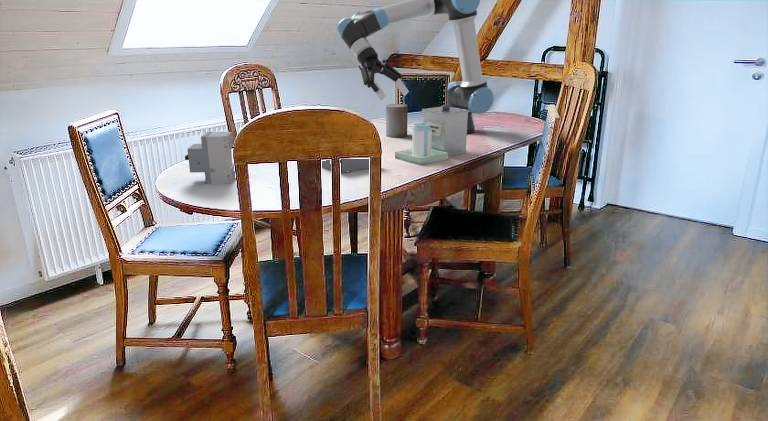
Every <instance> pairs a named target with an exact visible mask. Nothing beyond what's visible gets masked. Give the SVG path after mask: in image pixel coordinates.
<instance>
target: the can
mask: <svg viewBox="0 0 768 421" xmlns="http://www.w3.org/2000/svg"><path fill="white" fill-rule="evenodd" d="M413 126H414V127H413V128H412V132H411V134H412V136H411V137H412V139H411V141H412V144H411V149H412V155H413V156H417V157H425V156H431V137H432V129H431V127H430V124H424V123H423V122H422V123H419V122H418V123H415V124H413Z"/></svg>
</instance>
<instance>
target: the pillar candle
mask: <svg viewBox="0 0 768 421" xmlns="http://www.w3.org/2000/svg"><path fill="white" fill-rule="evenodd" d="M385 112H386V113H385V131H386V132H385V135H386V137H390V138H394V137H395V138H404V137H407V136H408V104H405V103H391V104H390V103H389V104H386V105H385Z"/></svg>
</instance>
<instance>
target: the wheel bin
mask: <svg viewBox="0 0 768 421" xmlns="http://www.w3.org/2000/svg"><path fill="white" fill-rule="evenodd" d="M340 163H341V173H342V174H344V173H343V172H347V171H352V172H354V171H353V170H357V171H360V170H359V169H362V170H366V169H365V168H367V169H370V168H369V159H341V160H340ZM321 168H324V169H327V170H328V171H329V170H330V171H332V170H331V164H330V160H326V161H322V167H321ZM347 173H348V172H347Z"/></svg>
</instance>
